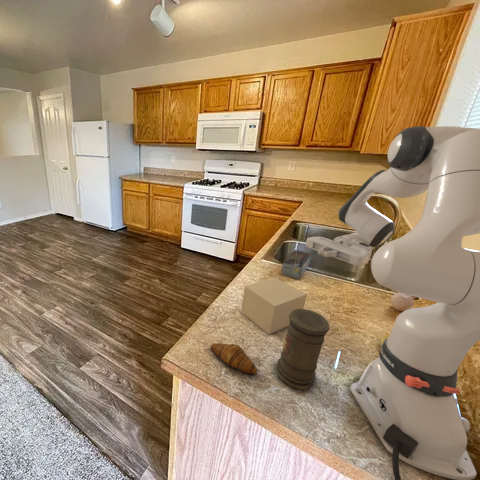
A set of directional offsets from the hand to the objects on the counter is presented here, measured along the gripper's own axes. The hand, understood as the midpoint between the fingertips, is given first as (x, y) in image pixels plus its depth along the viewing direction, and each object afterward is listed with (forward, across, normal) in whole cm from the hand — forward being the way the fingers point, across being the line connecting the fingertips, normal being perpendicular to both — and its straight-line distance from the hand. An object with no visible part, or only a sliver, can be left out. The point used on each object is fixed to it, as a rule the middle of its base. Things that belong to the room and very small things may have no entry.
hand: (322, 253), depth 93 cm
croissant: (+47, +10, +20) cm, 52 cm away
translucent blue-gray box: (-18, -20, +20) cm, 33 cm away
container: (+35, +20, +20) cm, 45 cm away
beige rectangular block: (+21, 0, +20) cm, 29 cm away
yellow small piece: (0, +28, +20) cm, 34 cm away
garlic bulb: (-25, +18, +20) cm, 37 cm away
